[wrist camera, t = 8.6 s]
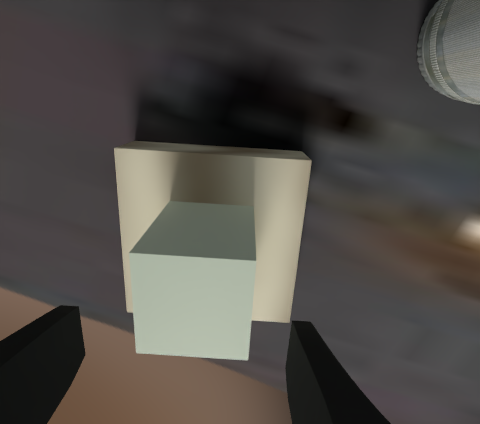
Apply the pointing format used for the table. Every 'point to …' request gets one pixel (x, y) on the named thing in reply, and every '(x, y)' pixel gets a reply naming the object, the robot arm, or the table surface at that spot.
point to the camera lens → (452, 49)
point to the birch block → (221, 192)
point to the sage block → (195, 281)
